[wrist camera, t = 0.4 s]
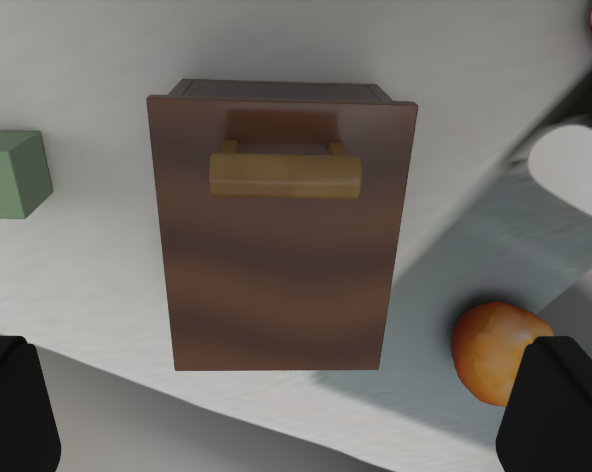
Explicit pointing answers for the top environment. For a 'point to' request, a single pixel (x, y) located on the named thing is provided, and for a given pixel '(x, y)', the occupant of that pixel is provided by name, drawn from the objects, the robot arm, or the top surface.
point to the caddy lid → (279, 227)
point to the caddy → (279, 90)
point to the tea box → (22, 174)
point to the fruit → (493, 348)
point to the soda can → (591, 21)
